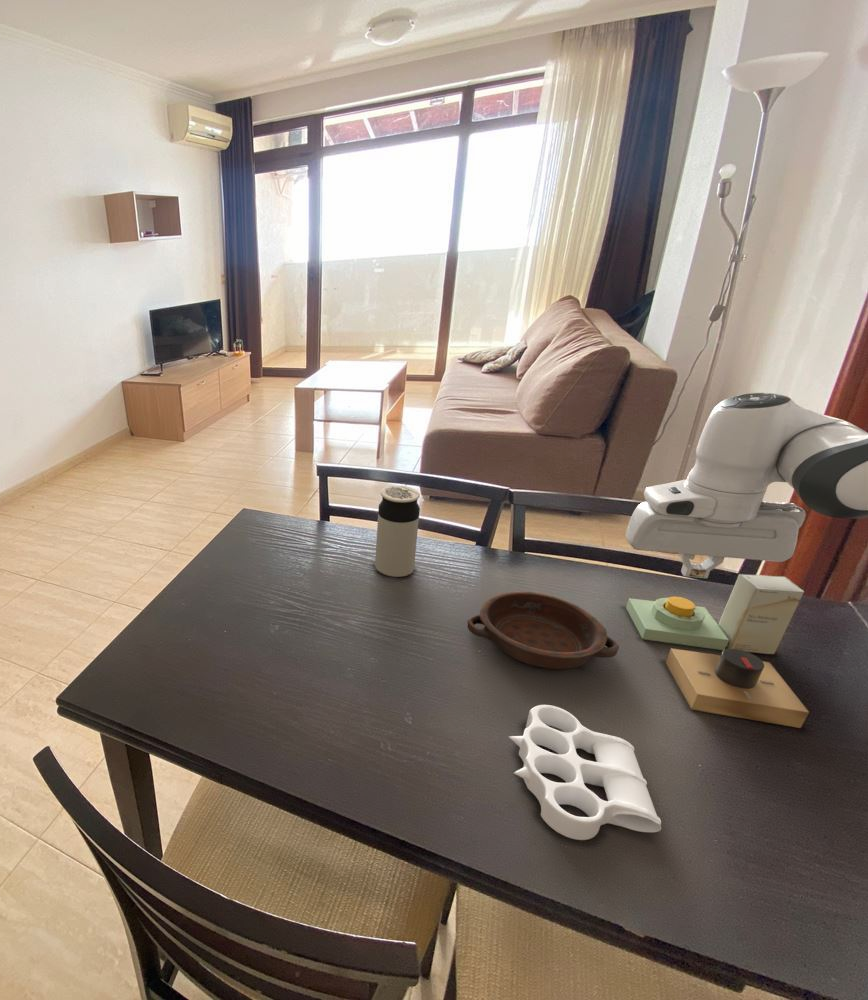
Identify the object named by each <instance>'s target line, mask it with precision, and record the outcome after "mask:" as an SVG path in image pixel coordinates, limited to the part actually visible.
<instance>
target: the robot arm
mask: <svg viewBox="0 0 868 1000" xmlns="http://www.w3.org/2000/svg"><path fill="white" fill-rule="evenodd" d="M773 483H787V484H788V485H789V486H790V487H791V488H792V489H793V491H795V493H796V494H797V495H798V497H799V498H800V500H801V501H802V502H803V504H804V505H806V507H808V508H809V509H811V510H812V511H813V512H815V513H818V514H819V515H822V516H826V517H830V518H834V519H845V520H854V519H856V520H857V519H864V518H868V432H867V431H865V430H864V429H862V428H860V427H859V426H856V425H855V424H853V423H851V422H849V421H846V420H844V419H841V418H838V417H833V416H829V415H825V414H822V413H819V412H815V411H813V410H811V409H809V408H807V407H805V406H803V405H800V404H799V403H797V402H795V401H794V400H793V399H792V397H790V396H788V395H785V394H781V393H775V392H748V393H747V392H746V393H741V394H737V395H736V394H735V395H733V396H730V397H727V398H724V399H723V400H722V401H720V402H719V403H718V404H716V405H715V406H714V408H713V409H712V411H711V412H710V414H709V415H708V418H707V420H706V421H705V424H704V427H703V429H702V432H701V434H700V437H699V440H698V442H697V445H696V449H695V463H694V466H693V467H692V468H691V470H690V471H689V473H688V474H687V477H686V478H684V479H680V480H676V481H673V482H667V483H662V484H656V485H651V486H648V487H646V488H645V489H644V491H643V498H644V500H645V501H643V502H641V503H640V504H638V505H637V506H636V508H635V509H634V510H633V512H632V514H631V517H630V518H629V522H628V524H627V527H626V530H625V534H624V535H625V539H626V541H627V543H628V544H629V546H631V548H632V549H633V550H636V551H644V552H656V553H667V554H669V553H670V554H678V556H679V558H680V560H681V563H682V566H681V570H680V572H681V574H682V576H683V577H686V578H687V577H688V578H698V579H708V578H709V575H710V572H711V571H713V570H714V569H715V568H718V567H719V566H720V565H722V564H723V563H724V560H725V558H728V559H742V560H752V561H753V560H755V561H765V562H775V563H776V562H777V563H783V562H785V561H786V562H787V560H789V559H791V558H792V557H793V556H794V553H795V550H796V547H797V543H798V538H799V537H798V536H799V529H800V528H801V527H802V526H803V524H804V521H805V519H806V517H807V514H806V511H805V510H804V509H803V508H802V507H801V506H798V505H797V504H796V503H792V502H773V501H763V500H764V498H765V495H766V492H767V490H768V486H770V485H771V484H773ZM696 556H705V557H707V558H706V559H704V560H703V561H701V563H692V562H691V560H693V561H694V560H695V558H696Z"/></svg>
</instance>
